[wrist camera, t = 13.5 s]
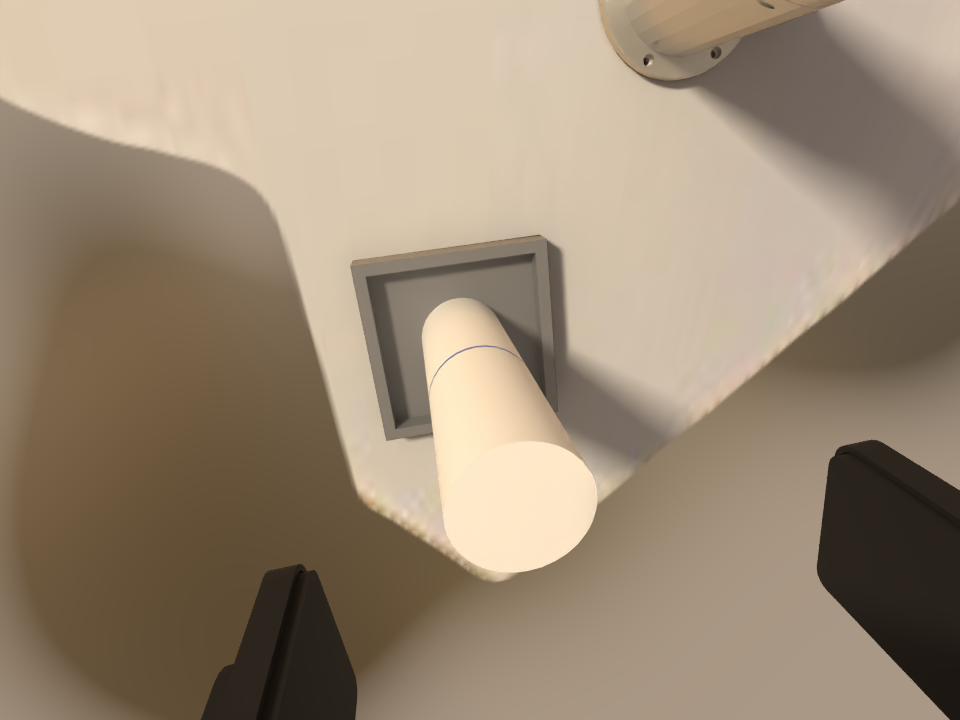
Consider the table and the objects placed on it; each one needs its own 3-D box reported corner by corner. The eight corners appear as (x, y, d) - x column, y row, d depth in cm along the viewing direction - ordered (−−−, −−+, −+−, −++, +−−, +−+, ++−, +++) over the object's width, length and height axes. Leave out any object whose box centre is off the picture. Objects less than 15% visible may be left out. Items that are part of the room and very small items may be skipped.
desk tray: (539, 234, 45) (546, 238, 43) (551, 400, 51) (557, 411, 49) (352, 260, 44) (350, 266, 42) (386, 428, 50) (386, 440, 48)
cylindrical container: (496, 291, 46) (593, 427, 23) (505, 366, 49) (600, 555, 26) (415, 304, 45) (431, 457, 22) (428, 379, 48) (455, 585, 25)
